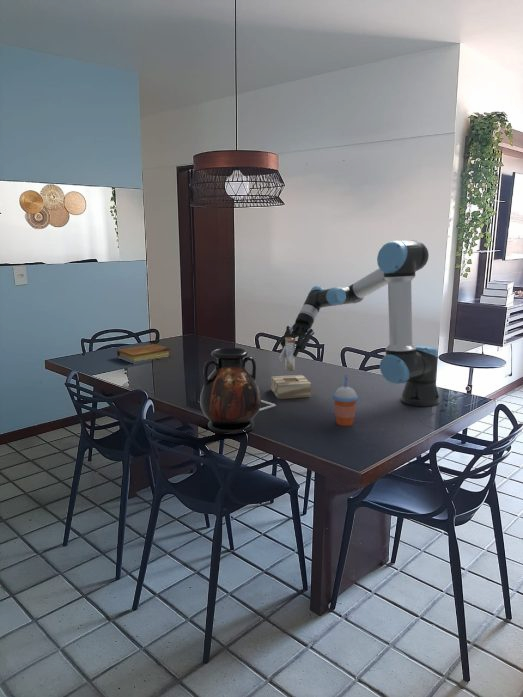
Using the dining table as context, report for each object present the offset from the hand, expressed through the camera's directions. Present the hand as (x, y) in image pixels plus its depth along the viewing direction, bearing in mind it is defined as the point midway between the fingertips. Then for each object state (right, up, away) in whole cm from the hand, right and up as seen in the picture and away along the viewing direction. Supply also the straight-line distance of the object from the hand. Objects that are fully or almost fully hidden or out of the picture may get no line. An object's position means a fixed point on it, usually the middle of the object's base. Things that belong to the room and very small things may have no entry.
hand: (284, 361), depth 228 cm
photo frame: (-16, -18, -10) cm, 26 cm away
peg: (+2, -4, +4) cm, 6 cm away
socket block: (+3, -14, +6) cm, 15 cm away
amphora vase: (-21, -23, -36) cm, 47 cm away
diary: (-75, -1, +74) cm, 105 cm away
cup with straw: (+20, -22, -32) cm, 44 cm away
